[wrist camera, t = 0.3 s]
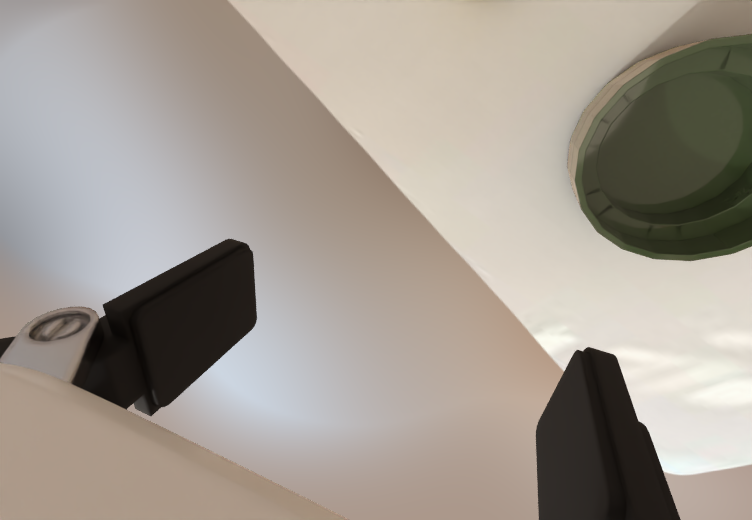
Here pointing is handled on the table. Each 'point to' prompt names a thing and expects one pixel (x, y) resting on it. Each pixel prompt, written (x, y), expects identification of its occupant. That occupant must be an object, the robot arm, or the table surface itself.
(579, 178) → the green round bowl
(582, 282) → the table surface
